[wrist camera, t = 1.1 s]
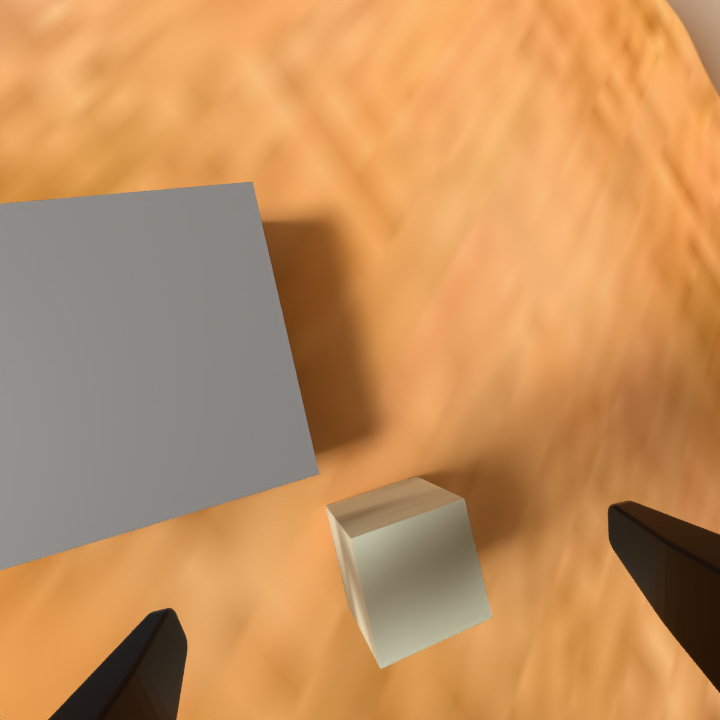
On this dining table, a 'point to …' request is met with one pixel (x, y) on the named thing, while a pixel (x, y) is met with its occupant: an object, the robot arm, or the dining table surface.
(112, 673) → the robot arm
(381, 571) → the cube
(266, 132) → the dining table surface
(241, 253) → the plinth
